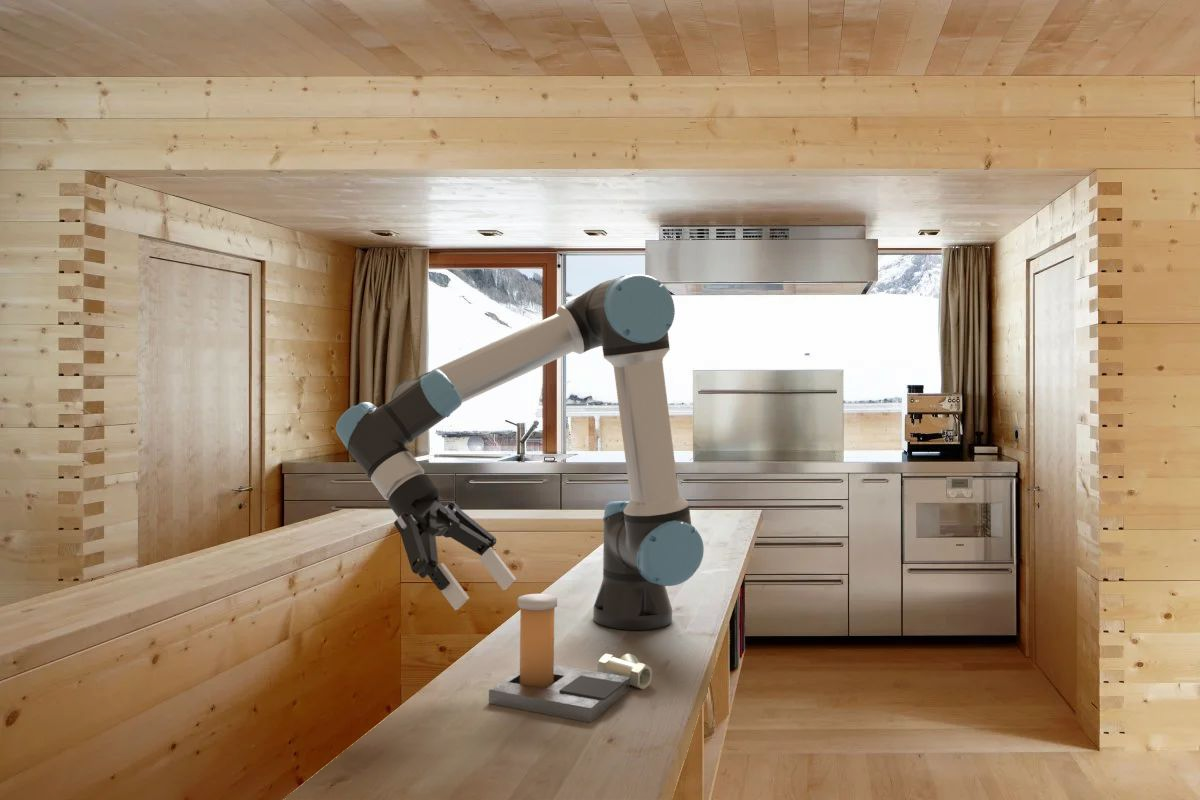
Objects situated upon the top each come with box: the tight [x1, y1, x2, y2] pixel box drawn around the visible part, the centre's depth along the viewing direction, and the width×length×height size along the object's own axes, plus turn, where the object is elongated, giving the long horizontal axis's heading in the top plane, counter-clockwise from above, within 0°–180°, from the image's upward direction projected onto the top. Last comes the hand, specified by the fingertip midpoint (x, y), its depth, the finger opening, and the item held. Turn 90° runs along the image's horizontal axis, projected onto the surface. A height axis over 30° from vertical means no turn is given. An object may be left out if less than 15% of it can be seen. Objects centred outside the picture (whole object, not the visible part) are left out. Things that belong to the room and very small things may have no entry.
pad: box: [559, 675, 624, 700], centre depth 131 cm, size 7×7×1 cm
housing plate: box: [488, 664, 631, 723], centre depth 134 cm, size 14×16×2 cm
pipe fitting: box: [597, 653, 653, 690], centre depth 141 cm, size 8×4×7 cm
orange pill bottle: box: [517, 593, 558, 689], centre depth 135 cm, size 6×6×14 cm
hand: (487, 594), depth 138 cm, fingers open, 13 cm apart
